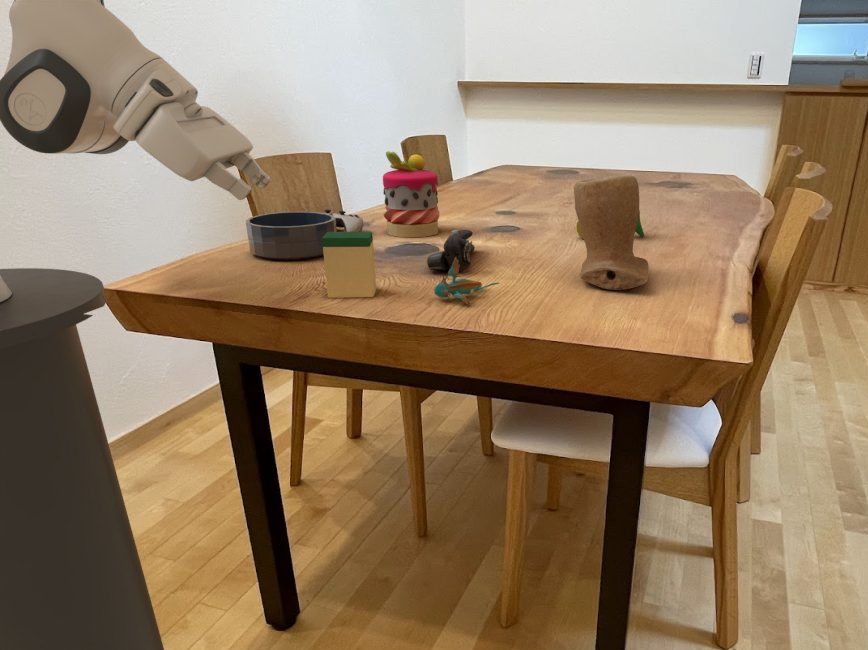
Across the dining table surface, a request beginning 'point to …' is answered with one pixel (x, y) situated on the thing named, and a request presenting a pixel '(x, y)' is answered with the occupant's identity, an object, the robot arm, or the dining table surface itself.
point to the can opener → (453, 252)
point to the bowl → (289, 234)
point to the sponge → (349, 264)
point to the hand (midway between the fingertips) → (257, 189)
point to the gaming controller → (347, 221)
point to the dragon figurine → (457, 285)
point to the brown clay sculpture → (610, 232)
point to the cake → (410, 198)
